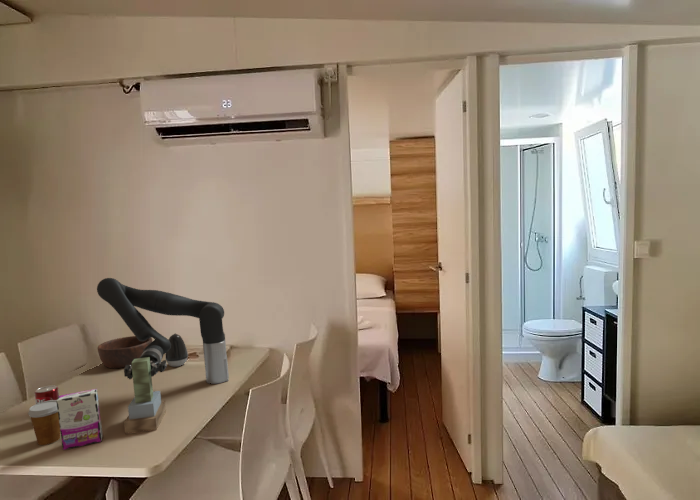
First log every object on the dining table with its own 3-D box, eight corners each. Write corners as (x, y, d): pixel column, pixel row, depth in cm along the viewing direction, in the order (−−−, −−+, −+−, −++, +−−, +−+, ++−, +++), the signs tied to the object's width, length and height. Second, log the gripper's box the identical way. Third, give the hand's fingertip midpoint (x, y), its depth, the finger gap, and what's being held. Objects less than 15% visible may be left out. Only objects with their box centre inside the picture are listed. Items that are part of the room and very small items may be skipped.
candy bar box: (103, 435, 159) (97, 387, 158) (101, 442, 155) (96, 392, 153) (64, 444, 155) (58, 394, 154) (62, 450, 150) (56, 400, 149)
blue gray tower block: (161, 402, 174) (160, 390, 174) (154, 416, 162) (153, 403, 162) (137, 405, 173) (136, 393, 172) (129, 419, 161) (127, 406, 161)
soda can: (50, 425, 170) (46, 392, 169) (33, 424, 172) (29, 392, 170) (66, 416, 177) (62, 385, 176) (49, 415, 179) (45, 384, 178)
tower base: (166, 412, 176) (164, 401, 176) (156, 431, 161) (155, 418, 161) (137, 416, 174) (136, 404, 174) (125, 435, 160) (124, 422, 159)
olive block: (153, 396, 169) (149, 357, 168) (151, 401, 164) (147, 360, 163) (138, 398, 168) (134, 358, 167) (135, 403, 163) (131, 362, 162)
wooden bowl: (164, 357, 245) (162, 338, 244) (118, 373, 224) (116, 352, 223) (135, 352, 258) (133, 333, 257) (89, 366, 237) (86, 346, 236)
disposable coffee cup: (35, 438, 161) (30, 403, 160) (67, 431, 164) (63, 397, 163) (28, 450, 152) (24, 414, 151) (63, 443, 156) (59, 407, 155)
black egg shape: (188, 360, 238) (185, 330, 236) (188, 366, 228) (185, 335, 226) (166, 363, 235) (163, 333, 233) (165, 370, 225) (162, 338, 223)
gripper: (128, 353, 177) (116, 367, 161) (169, 348, 181) (162, 361, 164) (130, 372, 178) (119, 388, 162) (171, 367, 181) (164, 382, 165)
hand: (140, 375), depth 163 cm, fingers open, 6 cm apart
